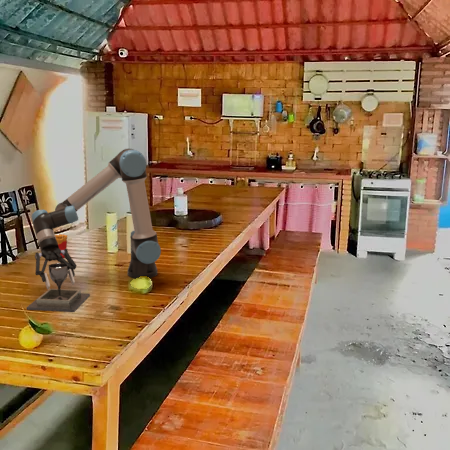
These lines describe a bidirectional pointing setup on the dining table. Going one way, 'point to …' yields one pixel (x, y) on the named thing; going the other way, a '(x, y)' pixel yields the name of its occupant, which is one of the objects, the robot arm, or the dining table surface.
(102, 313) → the dining table surface
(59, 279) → the wine glass
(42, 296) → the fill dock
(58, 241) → the french fries
